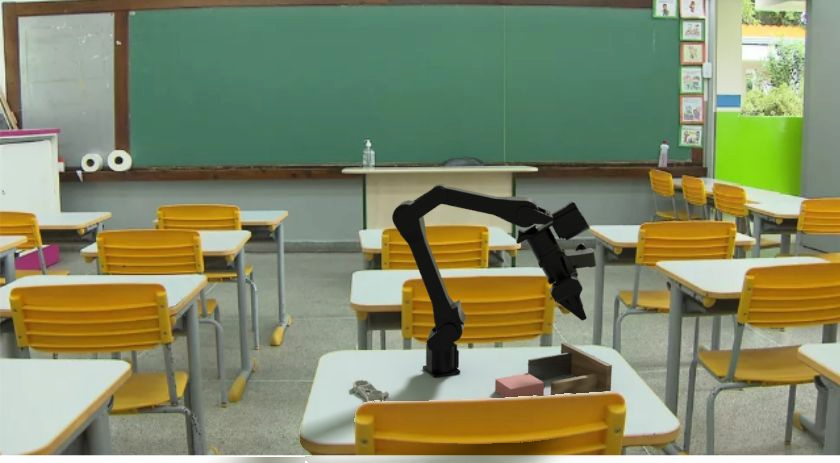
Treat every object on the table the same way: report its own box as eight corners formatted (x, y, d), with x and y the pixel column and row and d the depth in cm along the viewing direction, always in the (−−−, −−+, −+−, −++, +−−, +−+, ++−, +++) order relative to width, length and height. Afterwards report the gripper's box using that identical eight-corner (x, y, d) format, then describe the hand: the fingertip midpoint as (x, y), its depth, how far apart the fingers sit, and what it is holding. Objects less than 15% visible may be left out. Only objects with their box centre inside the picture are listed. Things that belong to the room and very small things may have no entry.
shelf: (561, 402, 152) (562, 374, 151) (518, 376, 166) (519, 350, 165) (610, 392, 157) (611, 365, 156) (564, 367, 171) (565, 342, 170)
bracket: (349, 408, 146) (353, 378, 161) (349, 417, 146) (353, 386, 161) (388, 407, 146) (388, 378, 161) (388, 417, 147) (388, 386, 161)
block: (510, 403, 153) (510, 389, 152) (495, 392, 158) (495, 379, 158) (543, 396, 156) (544, 382, 156) (527, 386, 161) (527, 373, 161)
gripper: (584, 241, 151) (622, 308, 152) (578, 225, 169) (611, 285, 170) (535, 267, 153) (572, 333, 154) (533, 249, 171) (567, 308, 173)
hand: (582, 313), depth 163 cm, fingers open, 9 cm apart
